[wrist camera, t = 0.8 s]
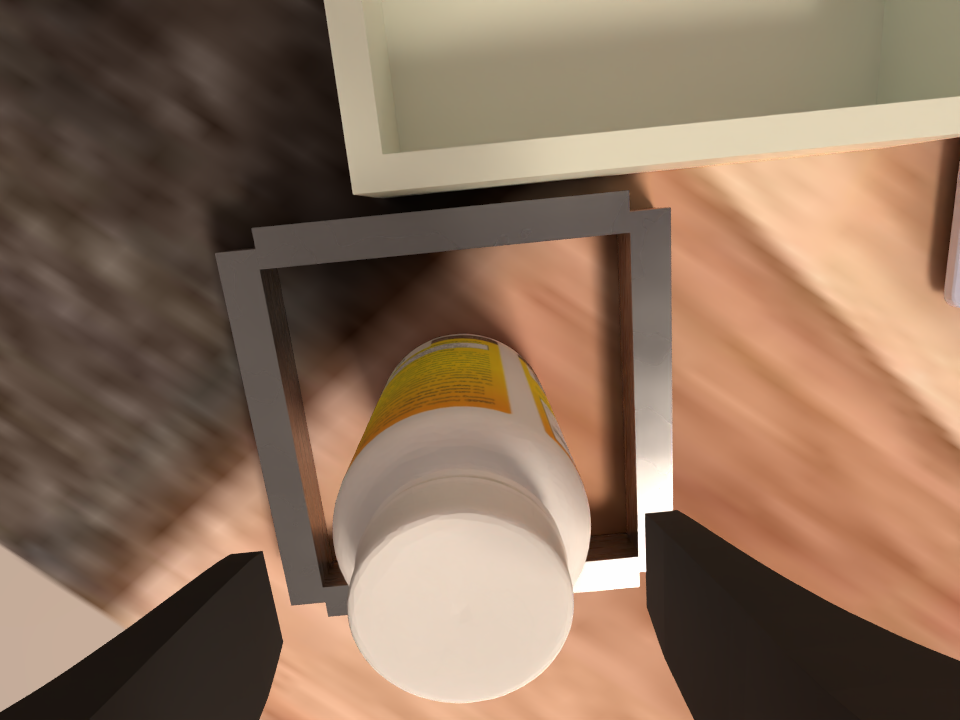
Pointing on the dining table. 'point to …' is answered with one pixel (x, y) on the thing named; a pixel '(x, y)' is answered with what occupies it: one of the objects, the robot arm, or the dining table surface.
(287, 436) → the socket collar
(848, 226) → the dining table surface
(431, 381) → the supplement bottle
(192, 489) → the dining table surface
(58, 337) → the dining table surface
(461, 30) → the bin
